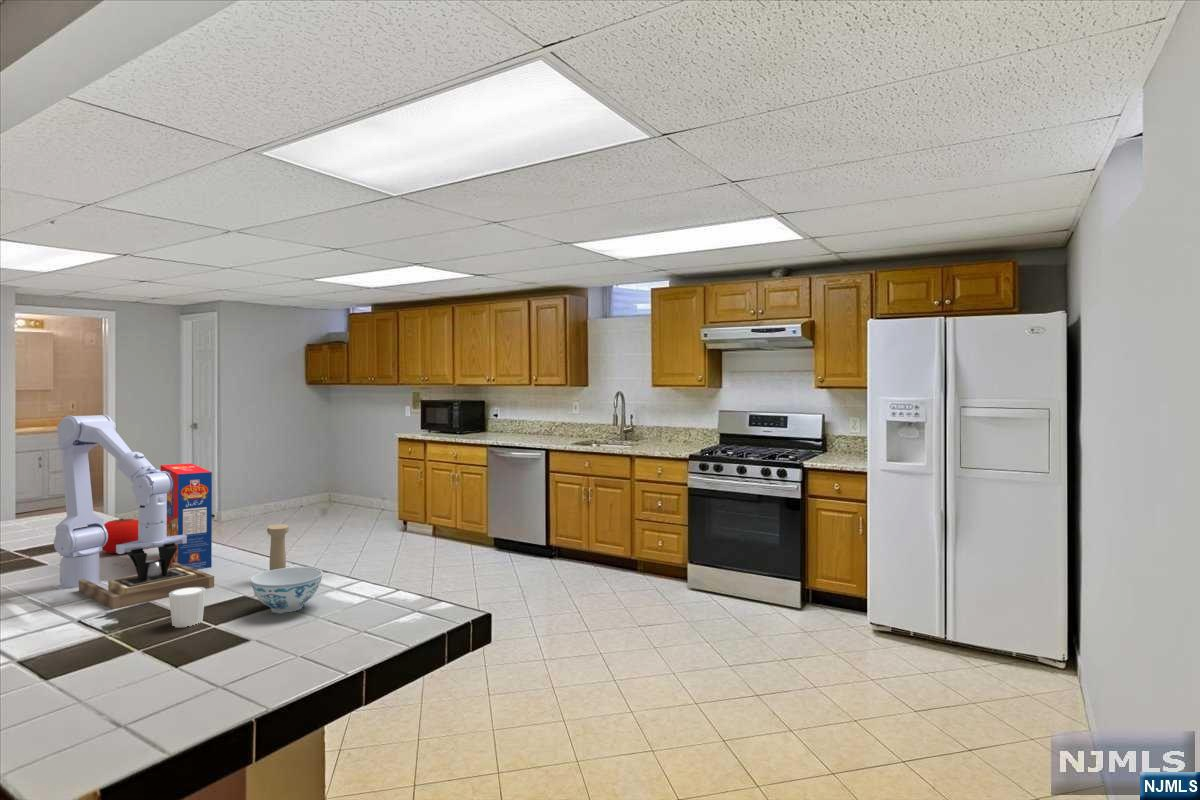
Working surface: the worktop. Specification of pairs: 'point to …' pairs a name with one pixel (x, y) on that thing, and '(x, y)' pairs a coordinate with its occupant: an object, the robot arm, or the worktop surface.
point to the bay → (146, 594)
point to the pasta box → (190, 514)
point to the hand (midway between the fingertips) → (152, 577)
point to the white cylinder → (187, 606)
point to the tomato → (120, 533)
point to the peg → (153, 570)
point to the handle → (277, 546)
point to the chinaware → (286, 587)
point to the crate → (135, 584)
